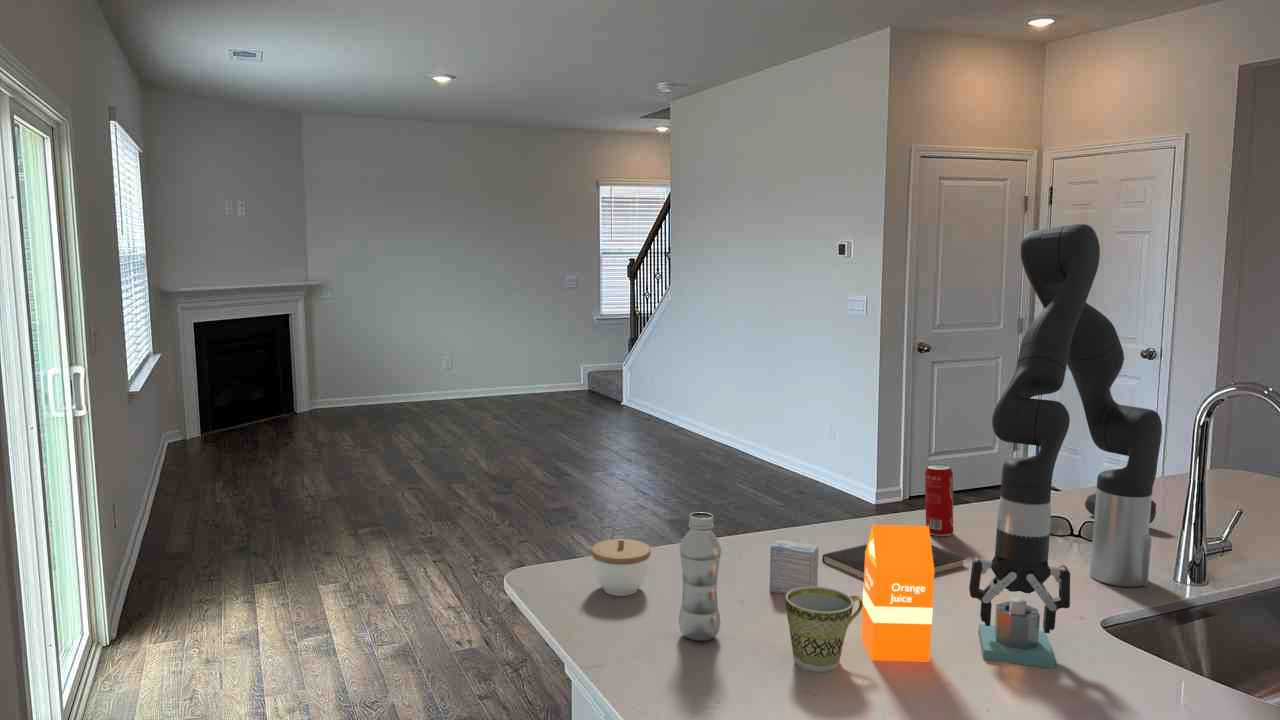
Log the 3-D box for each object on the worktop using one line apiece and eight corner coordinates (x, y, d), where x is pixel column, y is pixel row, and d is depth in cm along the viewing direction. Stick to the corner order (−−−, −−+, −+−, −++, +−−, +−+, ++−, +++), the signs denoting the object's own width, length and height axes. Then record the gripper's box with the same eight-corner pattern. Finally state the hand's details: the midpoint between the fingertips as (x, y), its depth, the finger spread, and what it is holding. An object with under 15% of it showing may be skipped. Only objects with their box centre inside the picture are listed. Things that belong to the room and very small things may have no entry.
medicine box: (817, 591, 163) (819, 545, 162) (811, 599, 159) (813, 552, 158) (775, 583, 166) (777, 538, 165) (768, 592, 162) (770, 545, 161)
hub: (1034, 635, 142) (1036, 604, 141) (1039, 651, 136) (1041, 619, 136) (993, 630, 144) (995, 600, 143) (996, 645, 138) (998, 614, 137)
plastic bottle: (708, 649, 139) (711, 524, 136) (670, 639, 142) (672, 517, 140) (727, 634, 144) (730, 514, 142) (690, 624, 148) (692, 507, 145)
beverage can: (954, 538, 194) (958, 470, 192) (923, 536, 195) (927, 468, 193) (951, 529, 199) (954, 464, 198) (920, 527, 201) (924, 462, 199)
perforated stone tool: (1078, 516, 211) (1081, 487, 210) (1090, 512, 214) (1092, 484, 213) (1145, 532, 199) (1148, 502, 198) (1156, 528, 203) (1159, 498, 202)
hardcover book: (965, 568, 177) (965, 557, 177) (882, 590, 165) (882, 578, 165) (902, 545, 191) (903, 534, 190) (821, 564, 179) (822, 552, 178)
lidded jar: (614, 574, 170) (615, 526, 169) (661, 587, 164) (662, 537, 163) (578, 591, 161) (579, 541, 160) (627, 606, 155) (627, 553, 154)
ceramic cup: (807, 683, 129) (810, 616, 127) (770, 654, 138) (772, 591, 136) (880, 667, 134) (884, 603, 133) (840, 640, 143) (843, 579, 142)
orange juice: (860, 638, 144) (866, 517, 141) (916, 639, 143) (922, 518, 141) (871, 660, 136) (877, 533, 133) (930, 662, 136) (937, 534, 133)
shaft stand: (1044, 640, 144) (1048, 592, 142) (1054, 668, 134) (1058, 617, 133) (978, 632, 146) (981, 585, 145) (983, 659, 137) (986, 608, 136)
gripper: (1069, 524, 139) (1062, 624, 141) (972, 515, 143) (966, 612, 145) (1078, 539, 132) (1070, 644, 134) (975, 529, 136) (969, 631, 138)
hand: (1016, 627), depth 140 cm, fingers open, 8 cm apart
